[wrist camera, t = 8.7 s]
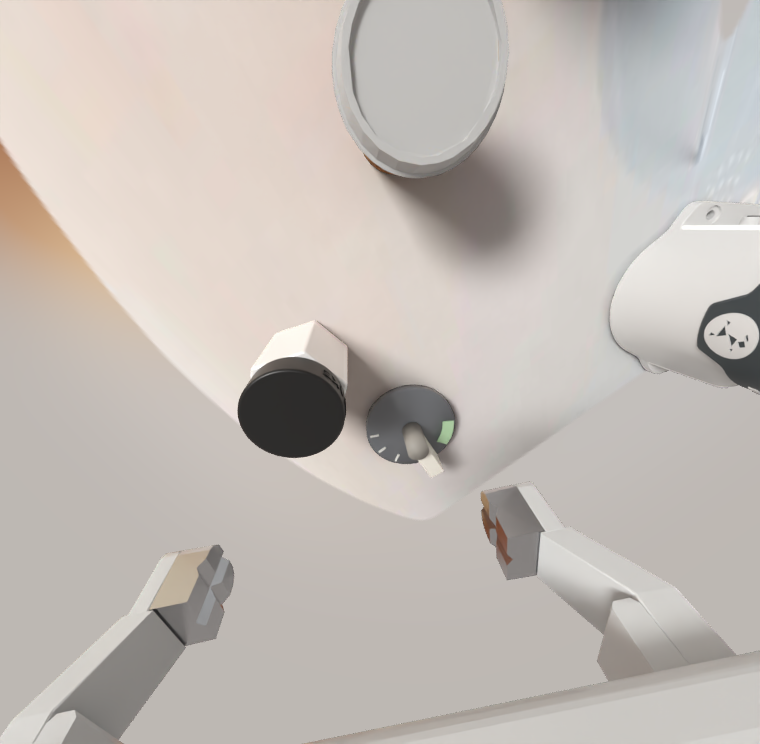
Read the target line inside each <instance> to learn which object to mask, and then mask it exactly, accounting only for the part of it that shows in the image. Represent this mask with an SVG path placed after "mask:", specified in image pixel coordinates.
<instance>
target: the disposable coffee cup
mask: <svg viewBox="0 0 760 744" xmlns="http://www.w3.org/2000/svg"><path fill="white" fill-rule="evenodd" d="M508 58H509V44H508V28H507V22H506V17H505V13H504V9H503V4H502V1H501V0H346V1H345V3H344V5H343V7H342V10H341V13H340V16H339V20H338V23H337V26H336V30H335V37H334V44H333V51H332V77H333V85H334V93H335V97H336V101H337V105H338V108H339V112H340V114H341V117H342V119H343V122H344V124H345V126H346V129H347V131H348V132H349V134H350V135H351V137H352V138H353V140H354V141H355V143H356V144H357V146H358V147H359V149H360V150H361V151H362V152H363V154H364V156H365V157H366V159H367V160H368V161H369V162H370V164H371V165H373V166H374V167H375V168H376V169H378V170H380V171H381V172H384V173H387V174H395V175H397V176H402V177H406V178H426V177H431V176H436V175H440V174H442V173H444V172H446V171H449V170H451V169H453V168H454V167H456V166H457V165H459V164H460V163H461V162H463V161H464V160H465V159H467V158H468V157H469V156H470V154H471V153H472V152H473V151H474V150H475V149H476V148H477V147H478V146H479V144H480V143H481V142H482V140H483V139H484V137H485V136H486V135H487V133H488V131H489V129H490V127H491V125H492V123H493V121H494V119H495V117H496V114H497V112H498V109H499V106H500V103H501V99H502V95H503V91H504V85H505V80H506V74H507V66H508Z"/></svg>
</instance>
